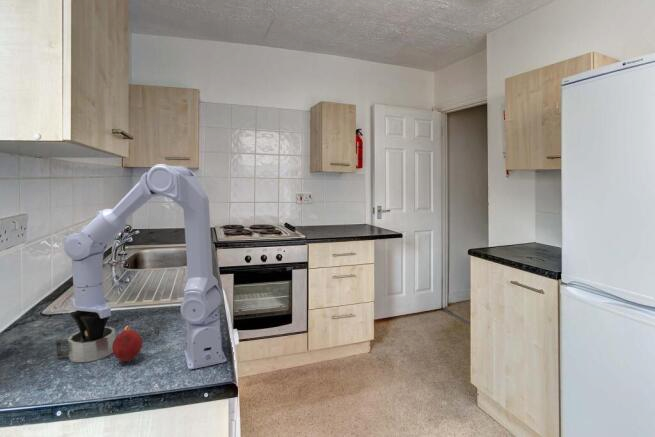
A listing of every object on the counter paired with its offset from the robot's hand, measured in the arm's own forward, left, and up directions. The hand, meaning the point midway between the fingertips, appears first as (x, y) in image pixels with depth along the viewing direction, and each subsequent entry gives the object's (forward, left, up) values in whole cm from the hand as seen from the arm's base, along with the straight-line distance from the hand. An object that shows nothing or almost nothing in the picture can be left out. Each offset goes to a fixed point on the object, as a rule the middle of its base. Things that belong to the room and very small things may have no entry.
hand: (92, 341), depth 82 cm
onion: (-8, -8, -3) cm, 11 cm away
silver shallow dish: (0, +1, -3) cm, 3 cm away
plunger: (0, 0, -2) cm, 2 cm away
